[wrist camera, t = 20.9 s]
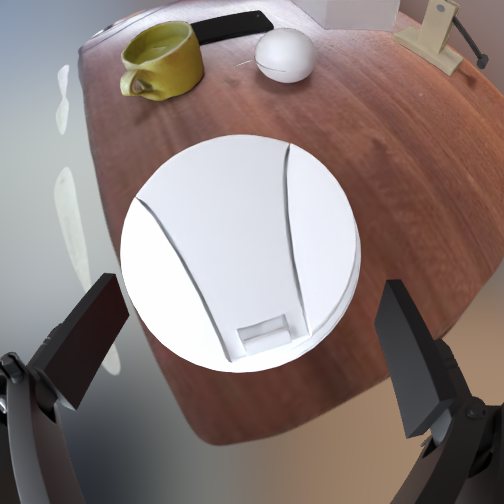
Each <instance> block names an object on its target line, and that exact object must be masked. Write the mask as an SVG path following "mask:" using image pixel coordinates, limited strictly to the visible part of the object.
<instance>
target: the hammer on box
mask: <svg viewBox="0 0 504 504" xmlns="http://www.w3.org/2000/svg"><path fill="white" fill-rule="evenodd" d="M291 1H293V2H294V3H295V4H296V5H298V6H299V7H300V8H301V9H302V10H304V11H305V12H306V13H307V14H308V15H309V16H311V17H312V18H313V19H314V20H315V21H316V22H317V23H318V24H320V25H321V26H322V27H323V28H324V29H360V30H377V31H388V32H393V28H394V24H395V20H396V16H397V12H398V8H399V4H400V0H291Z"/></svg>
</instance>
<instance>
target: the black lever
mask: <svg viewBox="0 0 504 504" xmlns="http://www.w3.org/2000/svg"><path fill="white" fill-rule="evenodd" d="M445 1H447V0H445ZM452 22H453V23H454V24H455V25H456V27H457V28H458V30H459V31H460V32H461V34H462V35H463V36H464V38H465V39H466V41H467V42H468V44H469V45H470V47H471V48H472V50H473V51H474V53H475V54H476V56H477V58H478V59H479V60H478V61H477V66H478V67H479V68H480V69H484V68H485V66H486V64H487V62H488V56H487V55H485V54H481V52H480V51H479V49H478V48H477V46H476V45H475V43H474V42H473V40H472V39H471V37H470V36H469V34H468V33H467V32H466V30H465V29H464V27H463V26H462V25H461V23H460V22H459V21H458V19H457V18H456V17H455V16H453V19H452Z"/></svg>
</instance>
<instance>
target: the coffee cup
mask: <svg viewBox="0 0 504 504" xmlns="http://www.w3.org/2000/svg"><path fill="white" fill-rule="evenodd" d="M136 197H137V198H138V199H139V200H140V202H139V201H138V200H137V199H136V198H134V200H133V201H132V203H131V206H130V208H129V211H128V213H127V216H126V219H125V223H124V227H123V231H122V237H121V251H120V252H121V265H122V273H123V277H124V281H125V284H126V288H127V290H128V293H129V295H130V297H131V299H132V302H133V304H134V306H135V307H136V309H137V310H138V312H139V314H140V316H141V318H142V319H143V321H144V322H145V324H146V325H147V327H148V328H149V330H150V331H151V332H152V333H153V334H154V335H155V336H156V337H157V338H158V339H159V340H160V341H161V342H162V343H163V344H164V345H165V346H166V347H168V348H169V349H170V350H172V351H173V352H174V353H176V354H177V355H179V356H181V357H183V358H185V359H187V360H189V361H191V362H193V363H195V364H197V365H200V366H203V367H207V368H210V369H214V370H219V371H228V372H253V371H260V370H265V369H269V368H273V367H277V366H280V365H282V364H285V363H287V362H289V361H292V360H294V359H296V358H298V357H300V356H301V355H303V354H304V353H306V352H307V351H309V350H311V349H312V348H314V347H315V346H316V345H317V344H318V343H319V342H321V341H322V340H323V339H324V338H325V337H326V336H327V335H328V334H329V333H330V332H331V331H332V330H333V328H334V327H335V326H336V324H337V323H338V322H339V320H340V319H341V318H342V316H343V315H344V313H345V311H346V309H347V307H348V305H349V303H350V301H351V299H352V297H353V294H354V291H355V288H356V285H357V281H358V277H359V270H360V262H361V253H360V239H359V234H358V229H357V224H356V221H355V219H354V216H353V212H352V209H351V207H350V204H349V202H348V199H347V197H346V195H345V193H344V191H343V190H342V188H341V186H340V185H339V183H338V181H337V180H336V179H335V177H334V176H333V175H332V174H331V173H330V172H329V170H328V169H327V168H326V167H325V166H324V165H323V164H322V163H320V162H319V161H318V160H317V159H316V158H315V157H313V156H312V155H311V154H309V153H308V152H306V151H304V150H303V149H301V148H299V147H298V146H295V145H293V144H291V145H290V148H289V143H287V142H283V141H279V140H275V139H271V138H266V137H260V136H254V135H230V136H223V137H218V138H214V139H211V140H207V141H204V142H201V143H199V144H197V145H194V146H192V147H189V148H187V149H185V150H184V151H182V152H180V153H178V154H177V155H175V156H173V157H172V158H171V159H169V160H168V161H167V162H166V163H164V164H163V165H162V166H161V167H160V168H159V169H158V170H157V171H156V172H155V173H154V174H153V175H152V176H151V178H150V179H149V180H148V181H147V182H146V183H145V185H144V186H143V187H142V189H141V190H140V191H139V192H138V194H137V195H136Z"/></svg>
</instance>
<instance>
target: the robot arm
mask: <svg viewBox="0 0 504 504" xmlns="http://www.w3.org/2000/svg"><path fill="white" fill-rule="evenodd" d="M128 317H129V313H128V309H127V307H126V304H125V301H124V298H123V295H122V293H121V290H120V286H119V284H118V281H117V278H116V274H111V273H104V274H103V275H102V276H101V277H100V278H99V279H98V280H97V282H96V283H95V284H94V285H93V286H92V287H91V289H90V290H89V291H88V292H87V293H86V294H85V296H84V297H83V298H82V299H81V301H80V302H79V303H78V304H77V305H76V307H75V308H74V309H73V310H72V312H71V313H70V314H69V315H68V317H67V318H66V319H65V321H64V322H63V323H61V324H59V325H58V326H57V327H55V328H54V329H53V330H52V331H51V332H50V334H49V335H48V336H47V339H45V341H44V342H43V345H41V346H40V348H39V349H38V350H37V351H36V353H35V354H34V356H33V357H32V359H31V360H30V361H29V363H28V365H27V366H25V365H24V363H23V362H22V360H21V359H20V358H19V356H18V355H17V354H16V353H14V352H9V353H7V354H5V355H4V356H3V357H2V358H1V359H0V404H1V405H2V406H3V407H4V408H5V410H4V412H2V411H1V410H0V504H86V503H85V500H84V498H83V495H82V493H81V490H80V487H79V484H78V482H77V479H76V476H75V473H74V470H73V467H72V463H71V460H70V456H69V453H68V449H67V446H66V441H65V437H64V433H63V429H62V424H61V419H60V414H59V409H58V406H57V404H56V403H55V402H56V400H57V398H58V399H59V400H60V401H61V403H62V404H63V405H64V406H66V407H68V408H70V409H73V410H75V411H76V410H77V408H78V407H79V405H80V402H81V401H82V398H83V397H84V395H85V393H86V391H87V389H88V387H89V385H90V383H91V381H92V380H93V378H94V376H95V374H96V372H97V370H98V368H99V367H100V365H101V363H102V361H103V360H104V358H105V356H106V354H107V353H108V351H109V349H110V347H111V346H112V344H113V342H114V340H115V338H116V337H117V335H118V334H119V332H120V330H121V329H122V327H123V325H124V324H125V322H126V320H127V319H128ZM374 326H375V329H376V332H377V335H378V338H379V341H380V344H381V347H382V350H383V353H384V356H385V359H386V363H387V366H388V369H389V373H390V376H391V380H392V383H393V387H394V390H395V394H396V398H397V401H398V405H399V409H400V413H401V417H402V421H403V425H404V430H405V435H406V438H411V437H415V436H419V435H423V434H424V433H425V432H426V431H427V430H428V429H429V428H430V429H431V433H432V434H431V435H430V436H429V437H428V438H427V439H426V440H425V441H424V442H423V443H422V444H421V447H423V446H424V445H425V447H424V449H423V450H422V452H421V454H420V456H419V458H418V460H417V462H416V463H415V465H414V467H413V468H412V470H411V472H410V474H409V475H408V477H407V478H406V480H405V482H404V483H403V485H402V486H401V488H400V490H399V491H398V493H397V494H396V496H395V497H394V498H393V500H392V501H391V503H390V504H504V403H503V404H502V405H501V406H489V405H485V403H484V402H483V401H482V400H481V399H479V398H477V397H473V396H472V395H471V393H470V390H469V388H468V386H467V383H466V381H465V379H464V376H463V374H462V372H461V370H460V368H459V367H458V364H457V362H456V359H454V355H453V354H452V351H451V349H450V347H449V346H448V345H447V344H446V343H445V342H444V341H443V340H442V339H438V340H433V338H432V336H431V334H430V332H429V330H428V328H427V326H426V324H425V322H424V320H423V319H422V317H421V315H420V313H419V311H418V309H417V307H416V305H415V304H414V302H413V300H412V298H411V296H410V295H409V293H408V291H407V289H406V288H405V286H404V284H403V283H402V281H401V279H396V280H386V283H385V287H384V291H383V295H382V298H381V302H380V305H379V309H378V312H377V315H376V319H375V322H374Z"/></svg>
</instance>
